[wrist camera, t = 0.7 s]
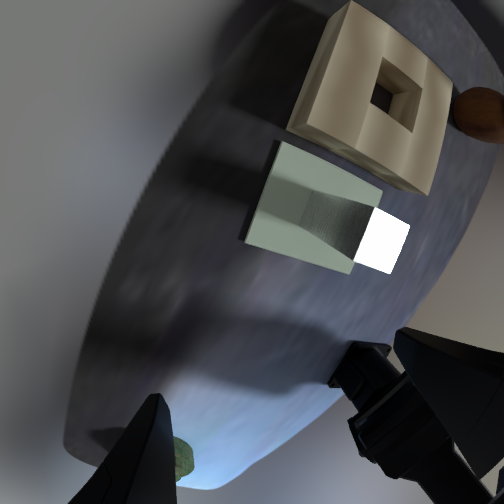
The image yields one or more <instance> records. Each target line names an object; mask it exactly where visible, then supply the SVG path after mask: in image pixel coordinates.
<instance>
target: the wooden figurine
mask: <svg viewBox="0 0 504 504" xmlns="http://www.w3.org/2000/svg"><path fill="white" fill-rule="evenodd" d="M453 114H454V119H455V121H456V123H457V125H458V126H459V128H460V129H461V131H462V132H463V133H465V134H466V135H468V136H470V137H472V138H474V139H477V140H480V141H484V142H488V143H496V144H504V96H503V95H502V94H501V93H499V92H497V91H495V90H492V89H489V88H484V87H474V88H471V89H468V90H466V91H464V92H463V93H461V94H460V95H459V96H458V97H457V98H456V99H455V102H454V106H453Z"/></svg>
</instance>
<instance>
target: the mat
mask: <svg viewBox="0 0 504 504" xmlns="http://www.w3.org/2000/svg"><path fill="white" fill-rule="evenodd" d="M312 190H316V191H320V192H324V193H328V194H331V195H335V196H339V197H342V198H346V199H349V200H353V201H356V202H360V203H363V204H366V205H370V206H373V207H376V208H377V206H378V204H379V201H380V198H381V195H382V192H383V191H381V190H380V189H378V188H376V187H374V186H373V185H371V184H369V183H367V182H365V181H364V180H362V179H360V178H358V177H356V176H354V175H352V174H350V173H349V172H347V171H345V170H343V169H341V168H339V167H337V166H335V165H333V164H331V163H329V162H327V161H325V160H323V159H321V158H318V157H316V156H314V155H312V154H310V153H308V152H306V151H303V150H301V149H299V148H297V147H294V146H292V145H290V144H287V143H285V142H281V143H280V146H279V149H278V151H277V154H276V157H275V159H274V162H273V165H272V167H271V170H270V173H269V175H268V178H267V181H266V184H265V186H264V189H263V192H262V194H261V197H260V200H259V203H258V205H257V208H256V211H255V213H254V216H253V219H252V222H251V224H250V227H249V230H248V233H247V235H246V238H245V241H244V242H245V243H247V244H251V245H254V246H257V247H260V248H264V249H267V250H270V251H274V252H277V253H280V254H284V255H287V256H290V257H293V258H297V259H300V260H303V261H307V262H310V263H313V264H316V265H320V266H323V267H326V268H329V269H333V270H336V271H339V272H342V273H346V274H349V275H350V273H351V270H352V268H353V266H354V263H355V261H353V260H351V259H350V258H348V257H347V256H345V255H344V254H342V253H340V252H339V251H337V250H336V249H334V248H333V247H331V246H330V245H328V244H327V243H325V242H323V241H322V240H320V239H319V238H317V237H316V236H314V235H312V234H311V233H309V232H308V231H306V230H304V229H303V228H301V227H300V226H299V223H300V220H301V218H302V215H303V213H304V210H305V207H306V205H307V202H308V200H309V197H310V194H311V192H312Z"/></svg>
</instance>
